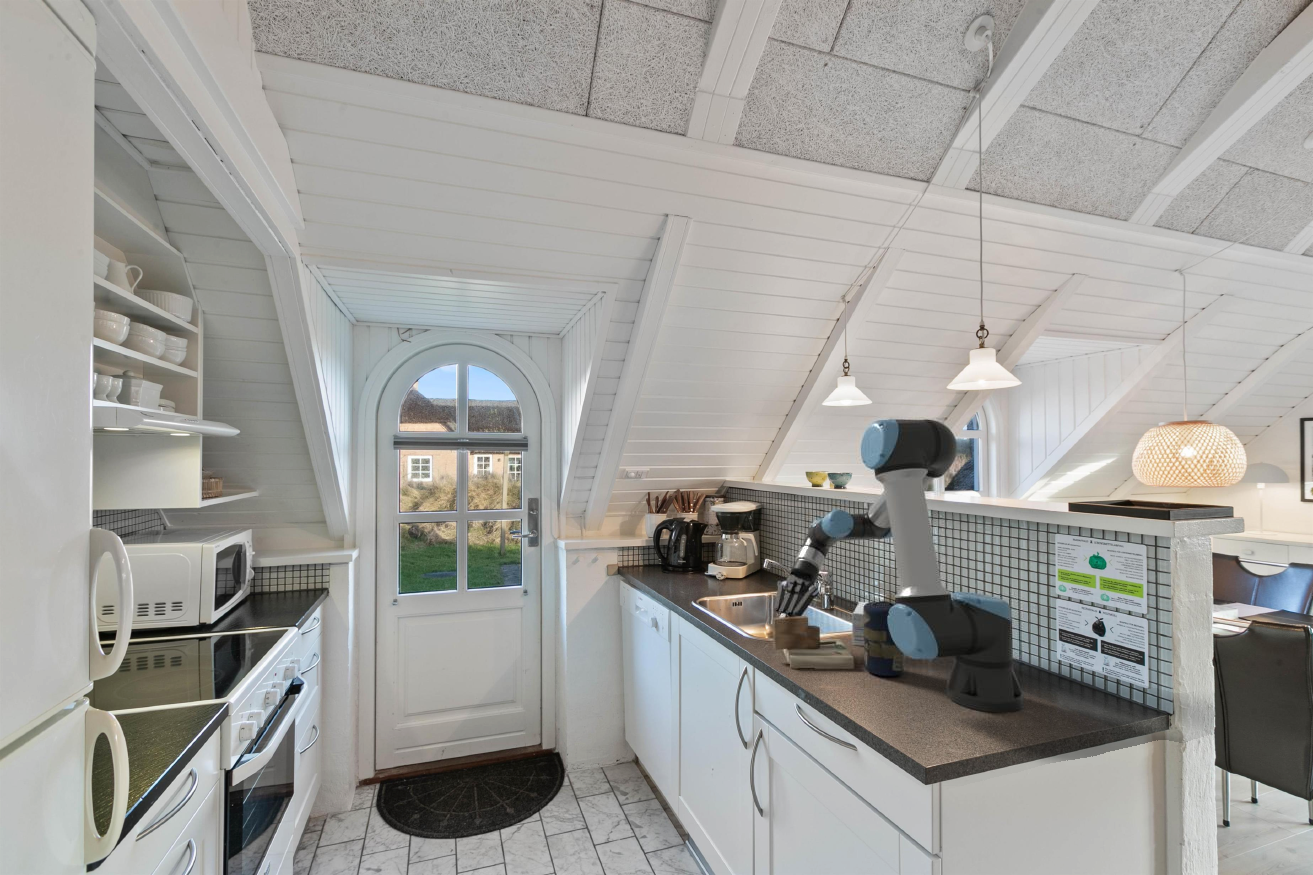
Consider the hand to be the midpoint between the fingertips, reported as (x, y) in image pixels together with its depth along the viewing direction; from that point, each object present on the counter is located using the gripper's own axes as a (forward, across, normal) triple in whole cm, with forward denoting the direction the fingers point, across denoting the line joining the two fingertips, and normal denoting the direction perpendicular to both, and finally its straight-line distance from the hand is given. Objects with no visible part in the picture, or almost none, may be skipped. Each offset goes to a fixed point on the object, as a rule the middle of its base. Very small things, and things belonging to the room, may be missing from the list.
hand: (776, 636), depth 168 cm
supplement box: (-20, -13, -30) cm, 38 cm away
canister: (-2, -26, -11) cm, 28 cm away
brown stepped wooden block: (-2, -6, -5) cm, 8 cm away
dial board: (-1, -8, -9) cm, 12 cm away
